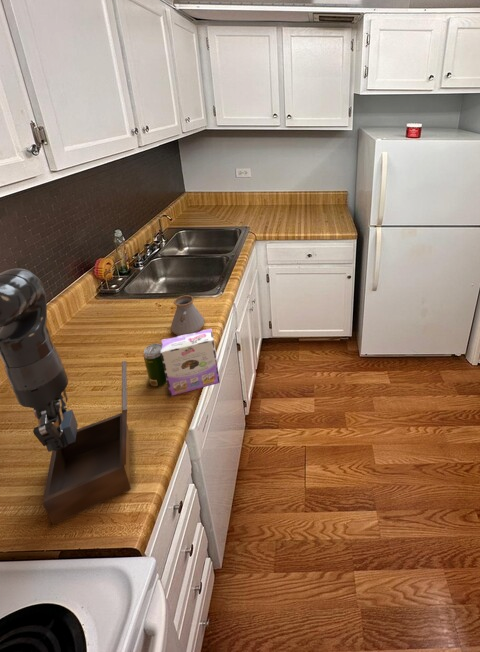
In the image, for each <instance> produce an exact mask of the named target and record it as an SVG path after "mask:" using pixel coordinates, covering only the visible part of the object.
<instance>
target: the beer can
mask: <svg viewBox="0 0 480 652" xmlns="http://www.w3.org/2000/svg"><path fill="white" fill-rule="evenodd" d="M143 360H144V364H145V365H144V366H145V368H146V373H147V378H148V381H149V384H150V386H151V387H153V388H154V387H155V388H156V387H162V386H163V385H166V384H167V380H166V375H165V371H164V366H163V362H162V357H161V343H152V344H149V345H147V346H145V348H144V350H143Z"/></svg>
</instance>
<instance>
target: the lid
mask: <svg viewBox="0 0 480 652" xmlns="http://www.w3.org/2000/svg"><path fill="white" fill-rule="evenodd" d="M127 379H128V378H127V360H123V361H121V413H122V466H123V465H126V440H127V425H128V387H127V386H128V384H127V383H128V382H127Z"/></svg>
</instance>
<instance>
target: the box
mask: <svg viewBox="0 0 480 652" xmlns="http://www.w3.org/2000/svg"><path fill="white" fill-rule="evenodd" d="M130 433H131V432H130V430H129V425H128V424H127V440H126V465H123V466H122V412H120V413H118V414H115V415H112V416H110V417H106V418H104V419H101V420H99V421H96V422H93V423H90V424H87V425H85V426H82V427H80V428H77V433H76V441H75V442H73V443H71V444H68V445H67V447H65V448H63V449H60V450H57V451H54V450H52V451H51V455H50V460H49V466H48V471H47V476H46V480H45V486H44V491H43V496H42V501H41V503H42V505H43V507H44V509H45V511H46V514H47V515H48V517H49V520H50V522H51V524H52V526H54V525H56V524H59V523H60V522H63V521H64V520H67V519H69V518H71V517H74V516H75V515H78V514H80V513H82V512H84V511H86V510H88V509H90V508H93V507H96V506H97V505H99V504H102V503H104V502H106V501H109V500H110V499H112V498H115V497H116V496H119V495H121V494H123V493H125V492H127V491H130V490H131V489H132V475H131V474H132V468H131V434H130Z"/></svg>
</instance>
